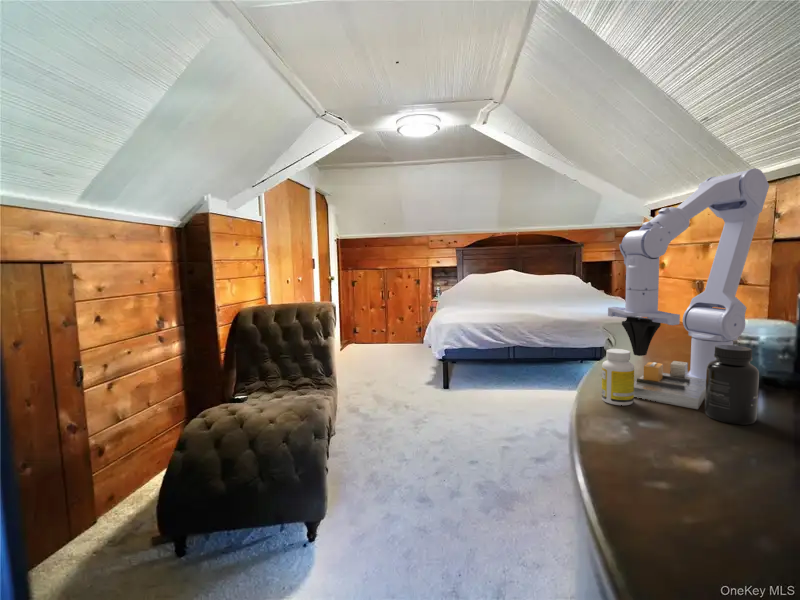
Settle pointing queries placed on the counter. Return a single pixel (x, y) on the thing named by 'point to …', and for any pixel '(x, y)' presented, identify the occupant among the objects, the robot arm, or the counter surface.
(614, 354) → the supplement bottle
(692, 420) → the counter surface
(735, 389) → the supplement bottle
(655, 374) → the orange cuboid
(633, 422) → the counter surface
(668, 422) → the counter surface
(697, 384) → the strip
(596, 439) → the counter surface
